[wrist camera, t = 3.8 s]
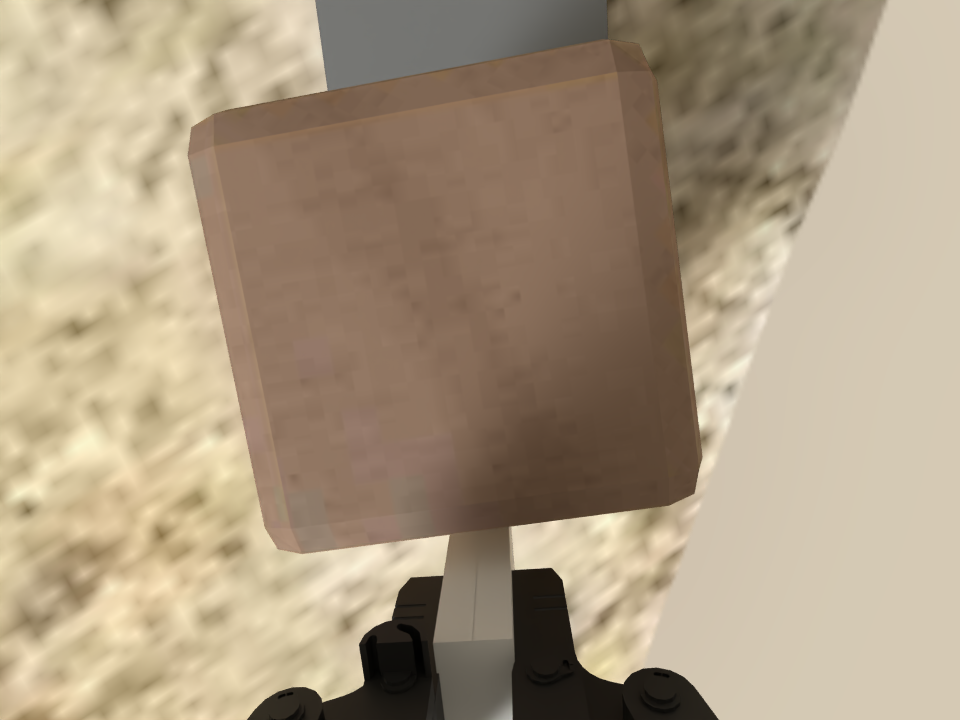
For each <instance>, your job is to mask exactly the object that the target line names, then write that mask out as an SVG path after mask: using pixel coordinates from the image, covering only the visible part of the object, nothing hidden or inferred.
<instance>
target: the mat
mask: <svg viewBox="0 0 960 720" xmlns="http://www.w3.org/2000/svg"><path fill="white" fill-rule="evenodd" d="M315 1H316V8H317V16H318V23H319V30H320V37H321V45H322V52H323V59H324V67H325V74H326V81H327V88H328V91H330V90H336V89H341V88H346V87H352V86H357V85H362V84H368V83H373V82H378V81H384V80H389V79H394V78H399V77H405V76H410V75H415V74H421V73H426V72H431V71H437V70H442V69H447V68H453V67H458V66H463V65H469V64H474V63H479V62H484V61H490V60H495V59H500V58H506V57H511V56H516V55H522V54H527V53H532V52H538V51H543V50H548V49H554V48H559V47H564V46H569V45H575V44H580V43H585V42H591V41H596V40H601V39H604V40H608V24H607V0H315Z"/></svg>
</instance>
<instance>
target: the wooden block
mask: <svg viewBox="0 0 960 720" xmlns="http://www.w3.org/2000/svg"><path fill="white" fill-rule="evenodd" d="M188 159H189V164H190V168H191V173H192V178H193V183H194V188H195V193H196V197H197V202H198V207H199V212H200V217H201V222H202V226H203V231H204V236H205V241H206V246H207V251H208V255H209V260H210V265H211V270H212V275H213V280H214V284H215V289H216V294H217V299H218V304H219V309H220V313H221V318H222V323H223V328H224V333H225V338H226V342H227V347H228V352H229V357H230V362H231V367H232V371H233V376H234V381H235V386H236V391H237V396H238V400H239V405H240V410H241V415H242V420H243V425H244V429H245V434H246V439H247V444H248V449H249V454H250V458H251V463H252V468H253V473H254V478H255V483H256V487H257V492H258V497H259V502H260V507H261V512H262V516H263V521H264V526H265V529H266V530H267V532H268V534H269V535H270V537H271V538H272V540H273V542H274V543H275V545H276V547H277V548H278V549H280V550H285V551H290V552H295V553H300V554H305V553H313V552H321V551H329V550H336V549H344V548H351V547H359V546H367V545H374V544H382V543H389V542H397V541H404V540H412V539H420V538H427V537H435V536H442V535H450V534H457V533H465V532H473V531H480V530H488V529H495V528H503V527H510V526H518V525H526V524H533V523H541V522H548V521H556V520H563V519H571V518H579V517H586V516H594V515H601V514H609V513H616V512H624V511H632V510H639V509H647V508H654V507H662V506H669V505H671V504H673V503H675V502H678V501H680V500H682V499H684V498H686V497H688V496H690V495H693V494H694V493H695V488H696V482H697V477H698V472H699V468H700V464H701V461H702V449H701V440H700V432H699V424H698V416H697V407H696V399H695V391H694V382H693V374H692V366H691V358H690V349H689V341H688V333H687V325H686V316H685V308H684V300H683V291H682V283H681V275H680V267H679V258H678V250H677V242H676V233H675V225H674V217H673V209H672V200H671V192H670V184H669V176H668V167H667V159H666V151H665V142H664V134H663V126H662V118H661V109H660V101H659V93H658V84H657V80H656V78H655V76H654V75H653V73H652V71H651V69H650V68H649V65H648V63H647V61H646V59H645V56H644V54H643V52H642V50H641V48H640V45H639V44H636V43H629V42H622V41H615V40H604V39H601V40H596V41H591V42H585V43H580V44H575V45H569V46H564V47H559V48H554V49H548V50H543V51H538V52H532V53H527V54H522V55H516V56H511V57H506V58H500V59H495V60H490V61H484V62H479V63H474V64H469V65H463V66H458V67H453V68H447V69H442V70H437V71H431V72H426V73H421V74H415V75H410V76H405V77H399V78H394V79H389V80H384V81H378V82H373V83H368V84H362V85H357V86H352V87H346V88H341V89H336V90H330V91H325V92H320V93H314V94H309V95H304V96H298V97H293V98H288V99H283V100H277V101H272V102H267V103H261V104H256V105H251V106H245V107H240V108H235V109H229V110H225V111H222V112H219V113H215V114H213V115H211V116H210V117H208V118H206V119H205V120H203V121H201V122H200V123H198V124H196V125H195V126H193V127H191V135H190V143H189V151H188Z"/></svg>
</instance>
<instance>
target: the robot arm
mask: <svg viewBox="0 0 960 720" xmlns="http://www.w3.org/2000/svg"><path fill="white" fill-rule="evenodd" d="M359 647H360V654H361V660H362V667H363V673H364V679H365V681H364V685H363V686H362V687H361V688H359V689H357V690H356V691H354V692H352V693H350V694H347V695H345V696H342V697H339V698H336V699H332V700H329V701H326V702H323V703H322V699H321V697H320V696H319V695H318V694H317V692H316V691H314V690H311V689H309V688H306V687H292V688H289V689H286V690H282V691H279V692H277V693H275V694H274V695H272V696H270V697H269V698H267V699H265V700H264V701H263V702H262V703H261V704H260V705H259V706H258V707H257V708H256V709H255V710H254V712H253V713H252V714H251V715H250V717H249V718H248V719H247V720H718V718H717V717H716V715H715V714H714V713H713V711H712V710H711V709H710V707H709V706H708V705H707V703H706V702H705V701H704V699H703V698H702V697H701V695H700V694H699V693H698V691H697V690H696V689H695V687H694V686H693V685H692V684H691V683H690V682H689V681H688V680H686V679H685V678H684V677H683V676H681V675H679V674H677V673H675V672H672V671H671V670H666V669H661V668H646V669H641V670H639V671H637V672H634V673H632V674H631V675H630V676H629V677H628V678H627V679H626V681H625V682H624V684H619V683H614V682H610V681H607V680H603V679H600V678H598V677H596V676H594V675H592V674H590V673H589V672H588V671H587V670H586V669H584V668H583V667H582V665H581V664H580V663H579V661H578V660H577V657H576V654H575V650H574V644H573V638H572V633H571V627H570V621H569V615H568V610H567V604H566V598H565V593H564V587H563V581H562V579H561V578H560V577H559V576H558V575H557V573H556V572H555V571H554V570H553V569H552V568H543V569H526V570H515V569H514V556H513V543H512V531H511V526H510V527H503V528H495V529H488V530H480V531H473V532H465V533H457V534H450V537H449V544H448V550H447V557H446V563H445V569H444V576H431V577H414V578H410V579H409V580H408V581H407V583H406V584H405V585H404V586H403V587H402V588H401V589H400V591H399V593H398V597H397V601H396V605H395V608H394V612H393V616H392V621H387V622H384V623H382V624H380V625H378V626H376V627H374V628H372V629H371V630H370V631H369V632H368V633H366V634H365V635H364V637H363V638H362V640H361V642H360V643H359Z"/></svg>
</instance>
